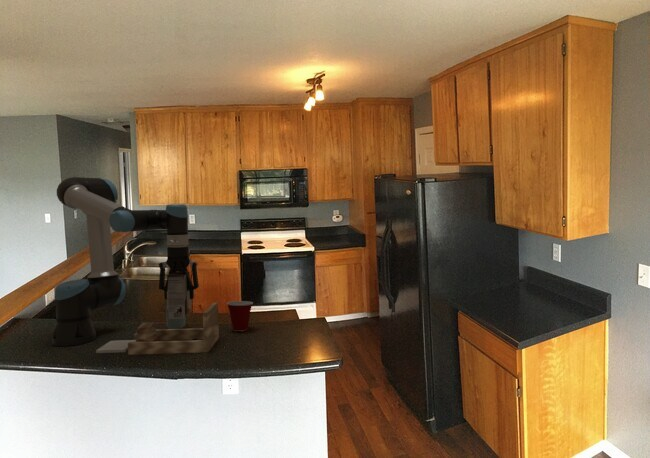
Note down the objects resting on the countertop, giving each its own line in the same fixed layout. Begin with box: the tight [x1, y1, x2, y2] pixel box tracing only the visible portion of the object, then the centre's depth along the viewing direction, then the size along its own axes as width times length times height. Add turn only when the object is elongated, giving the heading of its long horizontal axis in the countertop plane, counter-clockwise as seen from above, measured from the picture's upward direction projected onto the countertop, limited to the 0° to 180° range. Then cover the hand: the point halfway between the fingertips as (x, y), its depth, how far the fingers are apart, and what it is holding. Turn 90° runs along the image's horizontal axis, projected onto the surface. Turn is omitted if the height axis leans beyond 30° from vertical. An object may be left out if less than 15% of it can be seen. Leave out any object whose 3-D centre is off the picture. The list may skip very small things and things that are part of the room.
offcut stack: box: [133, 321, 158, 342], centre depth 166 cm, size 5×10×8 cm, turn 2°
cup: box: [165, 306, 187, 329], centre depth 190 cm, size 8×8×10 cm
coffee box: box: [166, 271, 192, 319], centre depth 166 cm, size 9×6×16 cm
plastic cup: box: [226, 300, 254, 331], centre depth 186 cm, size 11×11×12 cm
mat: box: [95, 339, 136, 354], centre depth 166 cm, size 10×12×1 cm
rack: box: [127, 302, 220, 356], centre depth 167 cm, size 28×18×14 cm, turn 92°
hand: (179, 307), depth 167 cm, fingers closed on coffee box, 7 cm apart
